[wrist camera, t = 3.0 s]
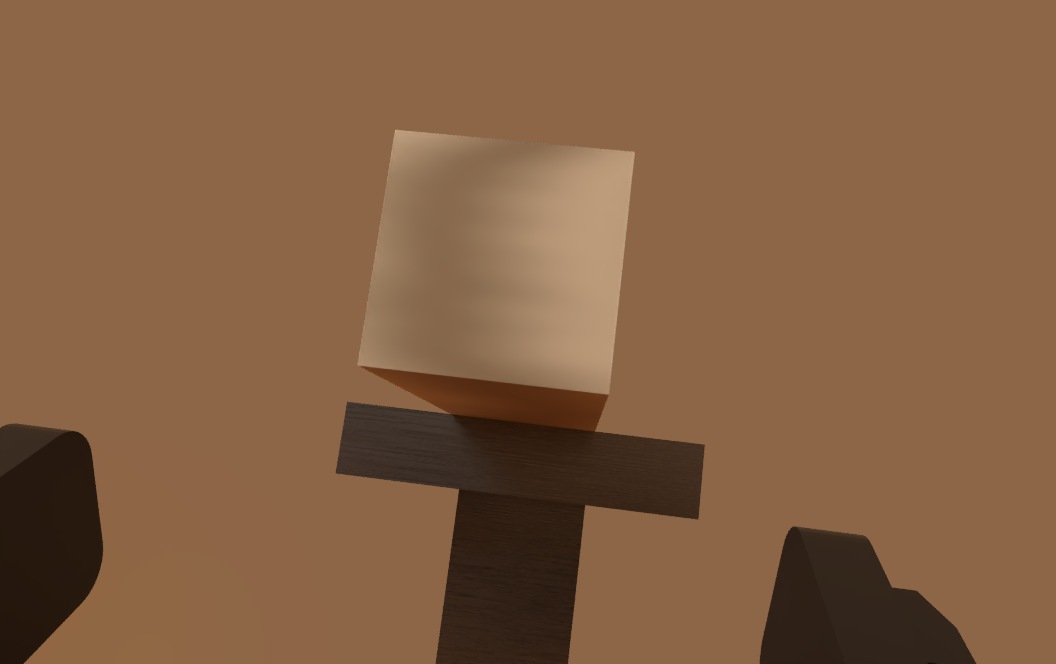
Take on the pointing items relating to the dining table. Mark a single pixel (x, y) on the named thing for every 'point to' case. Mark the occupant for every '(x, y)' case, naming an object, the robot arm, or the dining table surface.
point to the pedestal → (517, 514)
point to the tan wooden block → (499, 277)
